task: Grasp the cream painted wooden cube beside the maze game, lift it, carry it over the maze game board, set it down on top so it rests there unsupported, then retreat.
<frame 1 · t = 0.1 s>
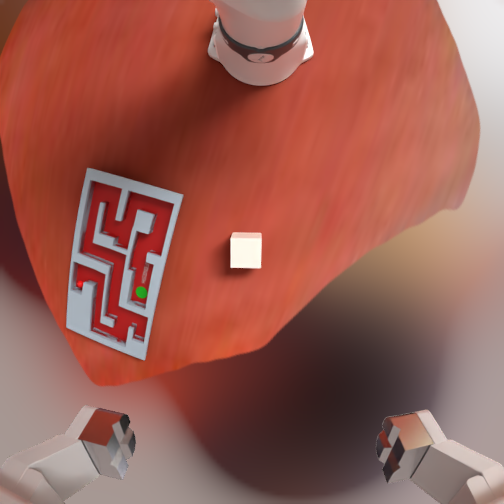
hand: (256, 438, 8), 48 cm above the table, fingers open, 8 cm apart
cream cube: (246, 246, 56), on the table
maze game: (119, 265, 58), on the table
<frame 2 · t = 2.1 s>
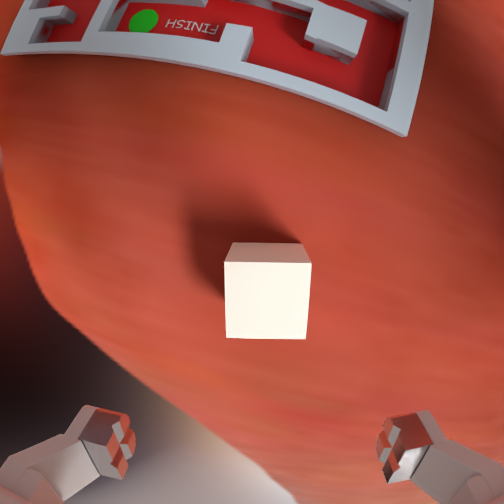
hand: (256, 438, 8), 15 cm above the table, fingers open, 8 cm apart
cream cube: (266, 275, 23), on the table
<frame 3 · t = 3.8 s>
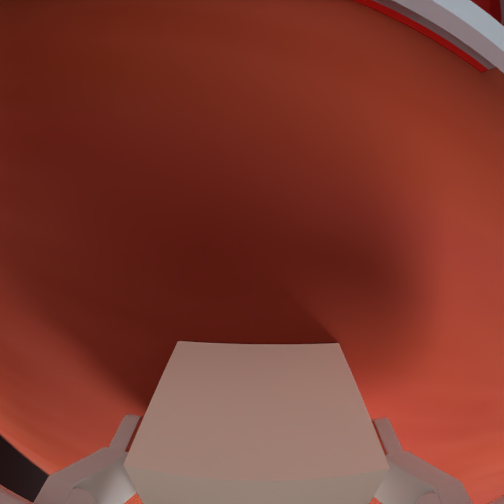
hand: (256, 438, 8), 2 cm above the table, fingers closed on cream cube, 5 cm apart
cream cube: (257, 403, 10), on the table, touching gripper
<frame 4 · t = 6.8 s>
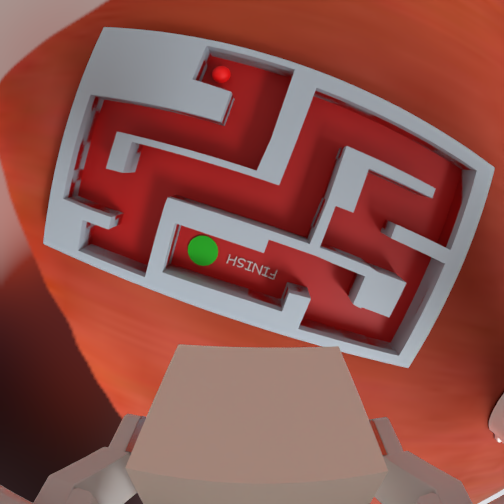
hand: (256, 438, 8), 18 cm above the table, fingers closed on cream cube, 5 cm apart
cream cube: (257, 406, 10), point 16 cm above the table, touching gripper
maze game: (267, 191, 25), on the table
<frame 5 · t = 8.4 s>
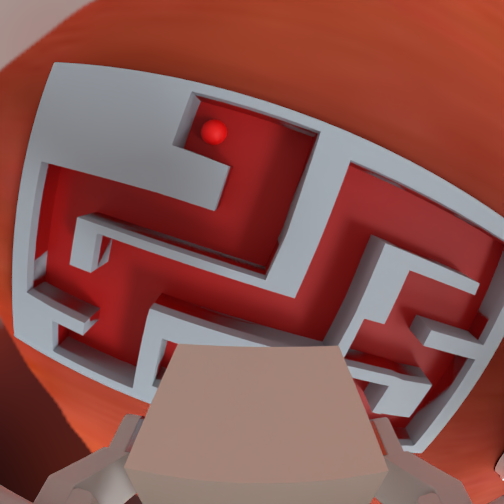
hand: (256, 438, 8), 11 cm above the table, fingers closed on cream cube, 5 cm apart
cream cube: (257, 406, 10), point 10 cm above the table, touching gripper
maze game: (276, 287, 20), on the table
when the fingers open (6 cm above the table, at t = 9.7 s): cream cube drops 2 cm, resting on maze game.
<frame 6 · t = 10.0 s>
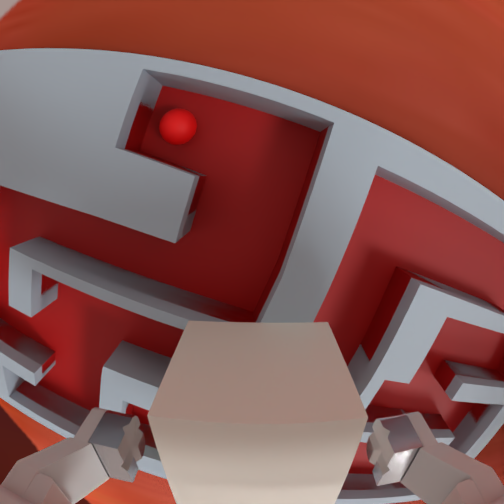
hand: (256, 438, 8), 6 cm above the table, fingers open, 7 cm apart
cream cube: (257, 378, 11), point 3 cm above the table, touching maze game
maze game: (269, 333, 15), on the table, touching cream cube
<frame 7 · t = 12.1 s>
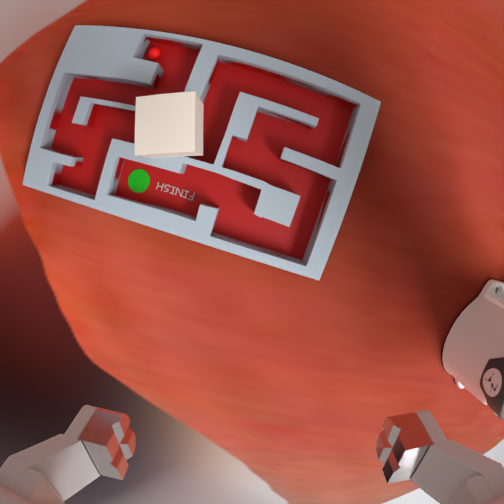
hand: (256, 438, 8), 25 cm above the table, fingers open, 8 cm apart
cream cube: (177, 131, 27), point 3 cm above the table, touching maze game
maze game: (187, 134, 31), on the table, touching cream cube
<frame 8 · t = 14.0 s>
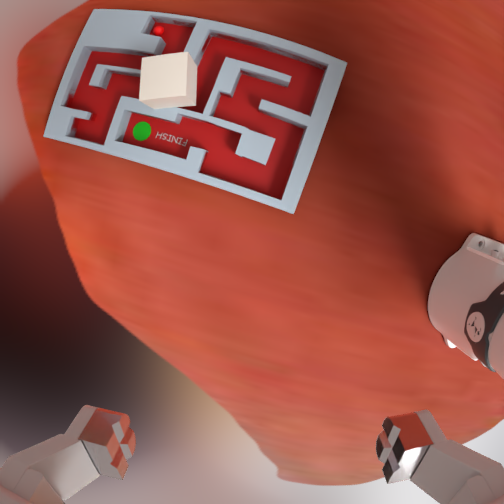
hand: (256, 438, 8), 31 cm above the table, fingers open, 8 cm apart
cream cube: (175, 87, 31), point 3 cm above the table, touching maze game
maze game: (184, 94, 35), on the table, touching cream cube
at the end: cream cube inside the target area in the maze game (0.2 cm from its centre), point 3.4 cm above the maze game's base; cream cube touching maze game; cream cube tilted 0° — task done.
